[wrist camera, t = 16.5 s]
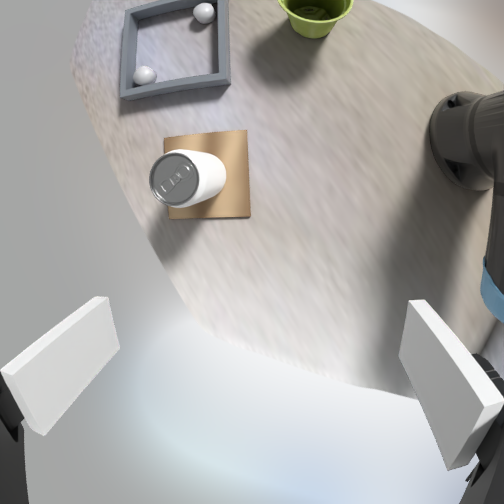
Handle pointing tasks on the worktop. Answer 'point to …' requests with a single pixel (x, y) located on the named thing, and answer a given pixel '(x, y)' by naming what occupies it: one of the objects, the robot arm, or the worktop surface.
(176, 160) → the can
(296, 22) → the plant pot
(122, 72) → the tray
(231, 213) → the pad
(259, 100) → the worktop surface
